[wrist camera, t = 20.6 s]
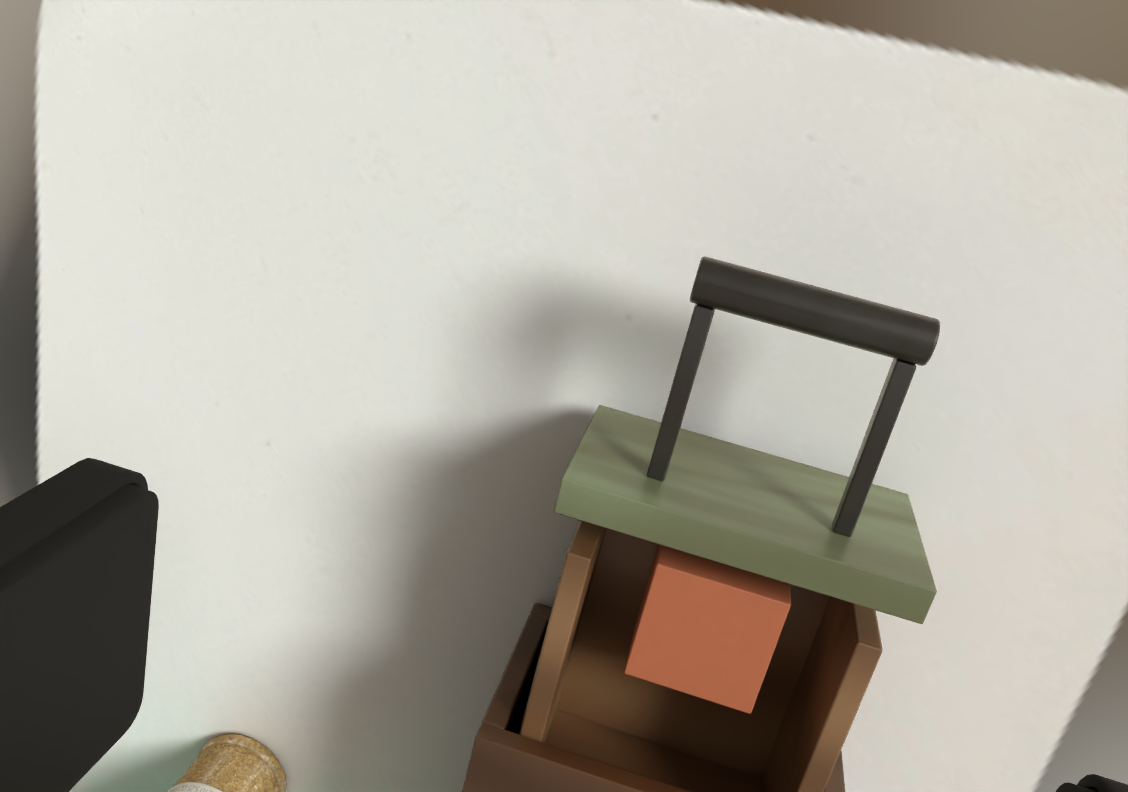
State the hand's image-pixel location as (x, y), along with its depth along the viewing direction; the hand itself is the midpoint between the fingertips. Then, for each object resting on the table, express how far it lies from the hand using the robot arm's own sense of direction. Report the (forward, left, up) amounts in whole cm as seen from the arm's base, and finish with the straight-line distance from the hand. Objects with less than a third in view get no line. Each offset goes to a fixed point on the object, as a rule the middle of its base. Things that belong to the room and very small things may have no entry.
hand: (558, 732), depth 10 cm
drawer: (+9, +5, -25) cm, 27 cm away
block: (+10, +6, -24) cm, 27 cm away
